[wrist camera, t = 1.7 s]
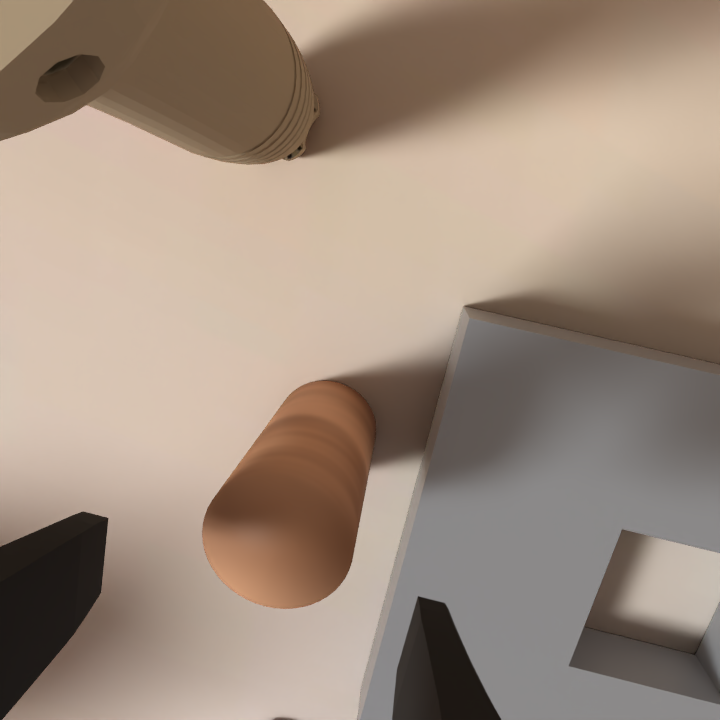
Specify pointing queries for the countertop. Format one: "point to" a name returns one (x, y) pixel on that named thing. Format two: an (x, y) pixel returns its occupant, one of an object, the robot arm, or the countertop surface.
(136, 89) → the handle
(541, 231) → the countertop surface
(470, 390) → the socket plate
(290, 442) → the peg
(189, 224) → the countertop surface
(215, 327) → the countertop surface
